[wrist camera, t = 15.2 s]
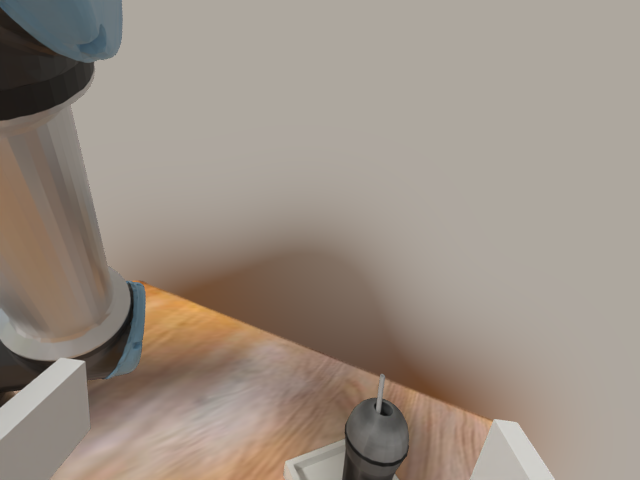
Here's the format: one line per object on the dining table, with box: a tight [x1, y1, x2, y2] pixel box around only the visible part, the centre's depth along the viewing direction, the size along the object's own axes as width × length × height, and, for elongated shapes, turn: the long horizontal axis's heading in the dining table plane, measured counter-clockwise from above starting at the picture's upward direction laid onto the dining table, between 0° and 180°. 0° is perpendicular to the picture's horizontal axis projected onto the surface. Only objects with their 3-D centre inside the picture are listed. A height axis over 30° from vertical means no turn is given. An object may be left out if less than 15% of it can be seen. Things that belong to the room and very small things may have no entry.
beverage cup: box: [342, 374, 409, 480], centre depth 38 cm, size 7×7×20 cm
